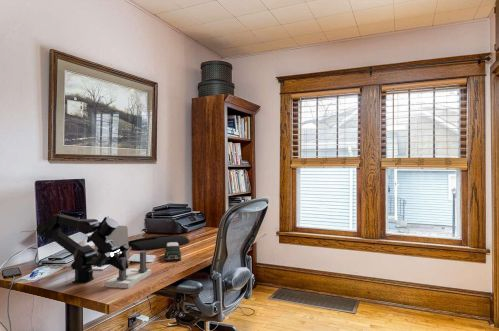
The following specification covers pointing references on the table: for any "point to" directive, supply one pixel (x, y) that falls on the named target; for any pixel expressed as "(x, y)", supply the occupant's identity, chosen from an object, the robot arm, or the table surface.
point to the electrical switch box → (119, 238)
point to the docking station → (156, 242)
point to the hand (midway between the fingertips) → (125, 269)
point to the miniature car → (172, 251)
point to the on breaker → (143, 262)
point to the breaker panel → (128, 279)
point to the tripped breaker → (123, 273)
